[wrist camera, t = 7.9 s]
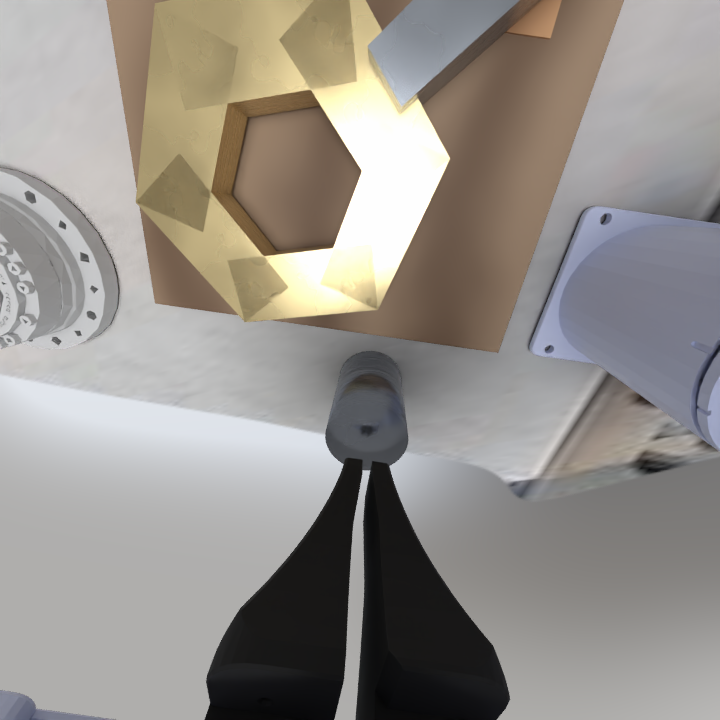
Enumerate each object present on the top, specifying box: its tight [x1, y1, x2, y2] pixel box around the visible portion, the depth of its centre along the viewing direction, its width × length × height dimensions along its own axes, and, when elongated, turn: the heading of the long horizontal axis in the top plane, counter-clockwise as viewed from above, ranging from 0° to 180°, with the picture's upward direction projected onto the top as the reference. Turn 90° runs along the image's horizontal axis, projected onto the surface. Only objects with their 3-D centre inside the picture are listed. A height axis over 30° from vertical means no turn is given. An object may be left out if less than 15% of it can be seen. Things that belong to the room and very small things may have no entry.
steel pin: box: [325, 351, 408, 470], centre depth 18 cm, size 4×4×6 cm
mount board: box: [106, 0, 624, 353], centre depth 15 cm, size 20×16×1 cm
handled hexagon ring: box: [136, 0, 541, 322], centre depth 12 cm, size 20×13×3 cm
